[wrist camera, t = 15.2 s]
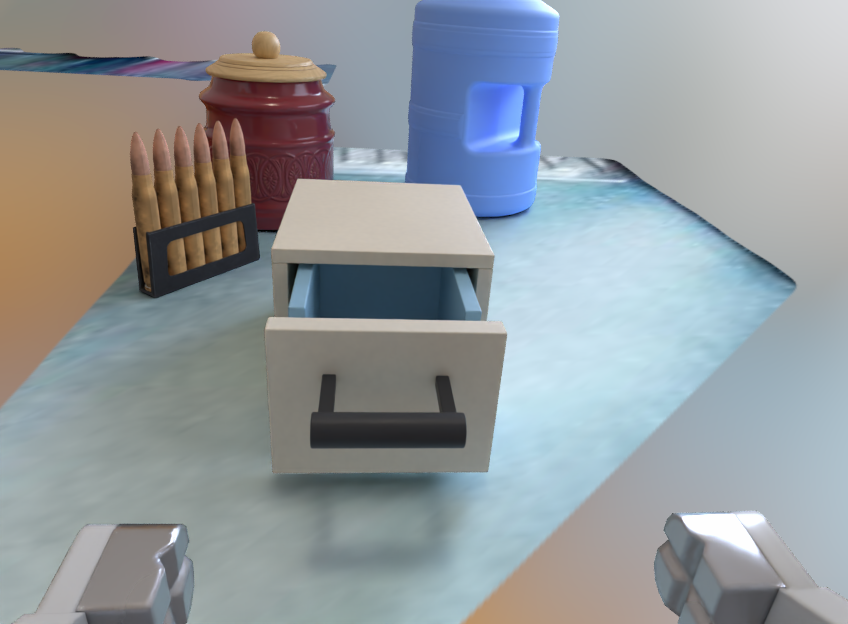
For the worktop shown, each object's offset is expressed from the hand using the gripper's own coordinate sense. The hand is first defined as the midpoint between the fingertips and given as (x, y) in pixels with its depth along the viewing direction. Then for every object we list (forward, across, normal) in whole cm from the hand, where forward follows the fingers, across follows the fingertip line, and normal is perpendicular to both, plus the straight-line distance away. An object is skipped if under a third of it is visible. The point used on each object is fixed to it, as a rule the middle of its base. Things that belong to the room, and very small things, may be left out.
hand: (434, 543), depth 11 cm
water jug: (+66, -11, +14) cm, 68 cm away
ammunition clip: (+41, +14, +14) cm, 46 cm away
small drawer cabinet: (+30, 0, +13) cm, 32 cm away
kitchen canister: (+58, +11, +14) cm, 61 cm away
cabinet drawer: (+20, 0, +12) cm, 24 cm away
